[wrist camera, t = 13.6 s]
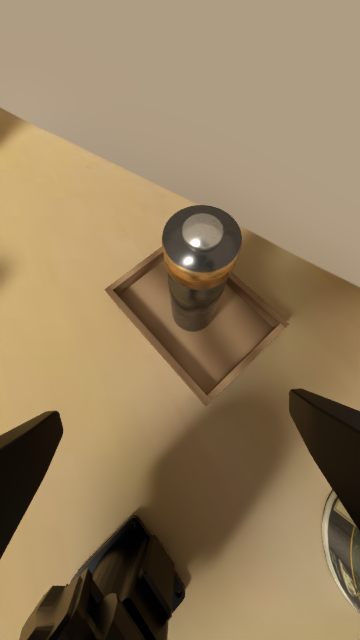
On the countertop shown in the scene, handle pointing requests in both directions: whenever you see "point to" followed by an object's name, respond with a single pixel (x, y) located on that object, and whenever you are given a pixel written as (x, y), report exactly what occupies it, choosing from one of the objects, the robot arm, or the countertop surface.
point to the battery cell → (199, 262)
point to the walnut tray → (201, 346)
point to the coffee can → (342, 549)
